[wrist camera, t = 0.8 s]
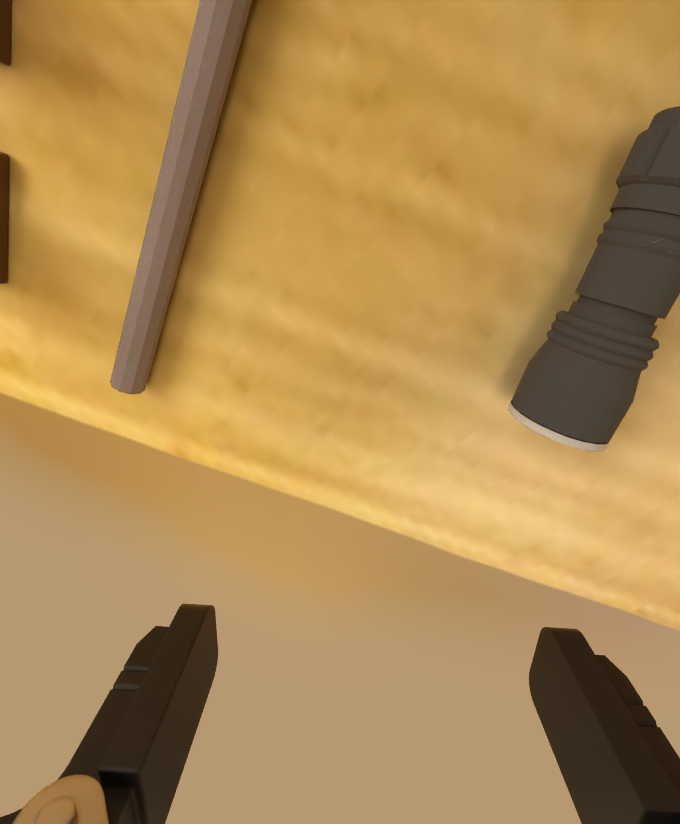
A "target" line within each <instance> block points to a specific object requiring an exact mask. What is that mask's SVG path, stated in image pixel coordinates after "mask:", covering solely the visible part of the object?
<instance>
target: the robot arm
mask: <svg viewBox="0 0 680 824" xmlns="http://www.w3.org/2000/svg"><path fill="white" fill-rule="evenodd" d="M217 659H218V644H217V631H216V617H215V608H214V606H212V605H195V604H182V605H181V606H180V607H179V609H178V611H177V613H176V615H175V617H174V619H173V621H172V623H171V625H170V627H162V626H155V628H153V629H152V630H151V631H150V632H149V633H148V634H147V635H146V636H145V637H144V638H143V639H142V640H141V641H140V642H139V643H137V645H136V646H135V648H134V650H133V652H132V653H131V655H130V657H129V659H128V661H127V662H126V664H125V666H124V670H123V671H121V673H120V675H119V676H118V678H117V680H116V682H115V683H114V687H113V689H112V690H110V692H109V694H108V696H107V698H106V699H105V701H104V703H103V705H102V706H101V708H100V710H99V712H98V714H97V715H96V717H95V719H94V720H93V722H92V724H91V726H90V728H89V729H88V731H87V733H86V735H85V736H84V738H83V740H82V742H81V744H80V745H79V747H78V749H77V751H76V752H75V754H74V756H73V758H72V759H71V761H70V763H69V765H68V766H67V768H66V769H65V771H64V772H63V773H62V775H61V776H60V777H59V779H58V780H57V781H55V782H53V783H51V784H50V785H48V786H46V787H45V788H44V789H42V790H41V791H40V792H38V793H37V794H36V795H35V796H34V797H33V798H32V799H31V800H30V801H29V802H28V803H27V804H26V805H25V806H24V807H23V808H22V809H20V810H18V811H16V812H14V813H11V814H9V815H6V816H3V817H0V824H165V822H166V819H167V816H168V813H169V810H170V807H171V804H172V801H173V798H174V795H175V792H176V789H177V786H178V783H179V780H180V777H181V774H182V772H183V769H184V765H185V763H186V759H187V757H188V754H189V751H190V748H191V745H192V741H193V739H194V735H195V733H196V730H197V727H198V724H199V721H200V718H201V715H202V712H203V709H204V705H205V703H206V700H207V697H208V694H209V691H210V688H211V685H212V682H213V679H214V676H215V671H216V667H217ZM529 685H530V692H531V696H532V700H533V703H534V705H535V708H536V710H537V713H538V715H539V718H540V720H541V723H542V725H543V728H544V730H545V733H546V735H547V738H548V740H549V743H550V745H551V748H552V750H553V753H554V755H555V758H556V760H557V763H558V765H559V768H560V770H561V773H562V775H563V778H564V780H565V783H566V785H567V788H568V790H569V793H570V795H571V798H572V800H573V803H574V805H575V808H576V810H577V813H578V815H579V818H580V820H581V823H582V824H680V758H679V757H678V755H677V754H676V752H675V750H674V749H673V747H672V746H671V744H670V743H669V741H668V740H667V738H666V736H665V735H664V733H663V732H662V730H661V729H660V727H657V725H656V721H655V719H654V718H653V716H652V715H651V713H650V712H649V710H648V709H647V707H646V706H643V701H642V700H641V698H640V696H639V695H638V693H637V692H636V690H635V688H634V687H633V685H632V684H631V682H630V681H629V679H628V678H627V676H626V675H625V674H624V673H622V672H621V671H620V670H619V669H618V668H617V667H616V666H615V665H614V664H613V663H612V662H611V661H610V660H609V659H608V658H607V657H605V655H595V654H594V652H593V651H592V649H591V647H590V646H589V644H588V643H587V641H586V639H585V637H584V636H583V635H582V633H581V632H580V631H579V630H577V629H567V628H551V627H550V628H549V627H544V628H542V630H541V632H540V635H539V639H538V643H537V646H536V650H535V653H534V658H533V661H532V664H531V668H530V672H529Z"/></svg>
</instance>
